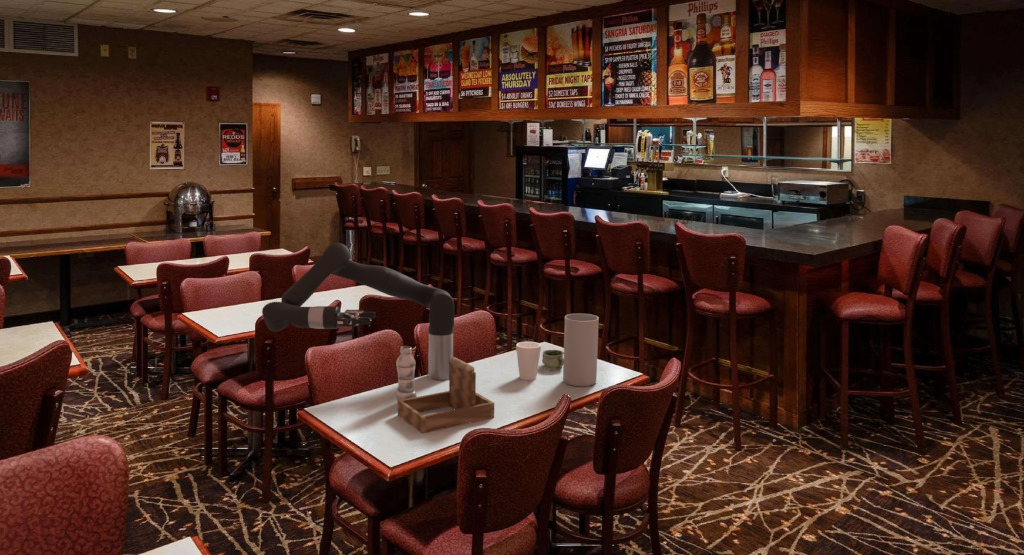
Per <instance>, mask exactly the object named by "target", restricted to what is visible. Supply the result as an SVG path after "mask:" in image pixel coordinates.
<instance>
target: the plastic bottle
mask: <svg viewBox="0 0 1024 555" xmlns="http://www.w3.org/2000/svg"><path fill="white" fill-rule="evenodd" d="M399 353H400V355H399V356H398V357H397V359H396V360H395V361H396V362H395V363H396V370H397V392H396V400H397V402H398V400H403V399H408V398H414V397H417V392H416V387H415V370H416V359H415V358H414V356H413V355H412V346H408V345H403V346H400V351H399Z"/></svg>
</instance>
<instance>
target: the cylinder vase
mask: <svg viewBox="0 0 1024 555" xmlns="http://www.w3.org/2000/svg"><path fill="white" fill-rule="evenodd" d="M599 318H600V317H599V316H598V315H594V314H591V313H569V314H566V315H565V316H564V334H563V337H564V339H563V352H564V354H563V359H564V364H563V366H562V369H563V370H562V374H563V375H562V376H563V377H562V380H563V381H562V382H564V383H565V384H566V385H569V386H572V387H581V388H582V387H584V386H585V387H590V385H591V386H593V385H594V384H596V382H597V371H598V369H597V367H598V345H599V344H598V343H599V341H598V340H599ZM585 387H584V388H585Z"/></svg>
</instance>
